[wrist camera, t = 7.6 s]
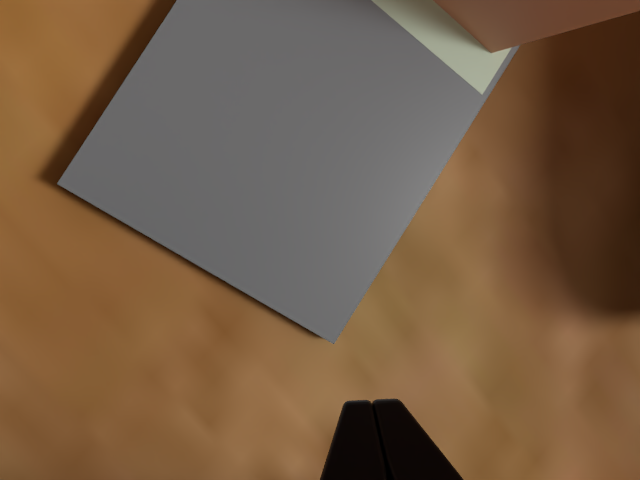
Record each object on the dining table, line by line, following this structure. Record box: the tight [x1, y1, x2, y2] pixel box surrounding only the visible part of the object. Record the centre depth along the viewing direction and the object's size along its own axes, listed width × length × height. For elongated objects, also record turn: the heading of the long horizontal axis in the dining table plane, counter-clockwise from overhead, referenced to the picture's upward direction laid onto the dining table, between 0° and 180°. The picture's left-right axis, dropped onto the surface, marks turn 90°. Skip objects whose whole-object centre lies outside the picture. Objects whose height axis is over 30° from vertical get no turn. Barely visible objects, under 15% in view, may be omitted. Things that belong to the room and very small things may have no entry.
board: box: [57, 0, 520, 344], centre depth 20 cm, size 20×11×1 cm, turn 146°
